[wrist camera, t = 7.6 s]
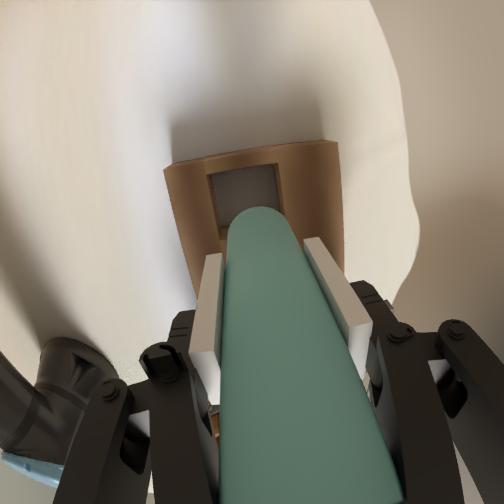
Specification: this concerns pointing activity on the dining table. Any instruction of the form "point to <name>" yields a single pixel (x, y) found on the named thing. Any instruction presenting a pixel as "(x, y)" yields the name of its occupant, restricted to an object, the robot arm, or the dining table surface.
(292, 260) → the peg
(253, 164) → the socket block
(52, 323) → the dining table surface
